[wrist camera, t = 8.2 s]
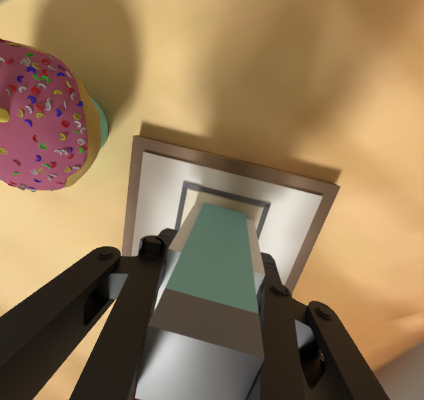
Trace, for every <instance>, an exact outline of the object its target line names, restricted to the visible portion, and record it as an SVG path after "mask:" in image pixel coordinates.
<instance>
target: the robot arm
mask: <svg viewBox="0 0 424 400" xmlns="http://www.w3.org/2000/svg"><path fill="white" fill-rule="evenodd" d="M201 208H202V207H201V206H197V205H193V207H192V209H191V210H190V212H189V214H188V216H187V217H186V219H185V221H184V222H183V224H182V226H181V227H180V229H179V231H178V230H174V229H170V228H166V229H164V230H162V231H161V232H160V233H159V235H158V236H156V235H149V236H145V237H142V238H141V239H140V243H139V250H138V255H137V256H121V253H120V251H119V250H118V249H117V248H115V247H110V246H104V247H99V248H96V249H95V250H93V251H91V252H90V253H89V254H87V255H86V256H84V257H83V258H82V259H80V260H79V261H77V262H76V263H75V264H73V265H72V266H71V267H69V268H68V269H66V270H65V271H64V272H62V273H61V274H59V275H58V276H57V277H55V278H54V279H52V280H51V281H50V282H48V283H47V284H46V285H44V286H43V287H41V288H40V289H39V290H37V291H36V292H34V293H33V294H32V295H30V296H29V297H27V298H26V299H25V300H23V301H22V302H21V303H19V304H18V305H16V306H15V307H14V308H12V309H11V310H9V311H8V312H7V313H5V314H4V315H2V316H1V317H0V400H33V398H34V397H35V396H36V395H37V394H38V392H39V391H40V390H41V389H42V388H43V386H44V385H45V384H46V383H47V382H48V380H49V379H50V378H51V377H52V376H53V374H54V373H55V372H56V371H57V370H58V368H59V367H60V366H61V365H62V363H63V362H64V361H65V360H66V359H67V357H68V356H69V355H70V354H71V353H72V351H73V350H74V349H75V348H76V347H77V345H78V344H79V343H80V342H81V341H82V339H83V338H84V337H85V336H86V334H87V333H88V332H89V331H90V330H91V328H92V327H93V326H94V325H95V324H96V322H97V321H98V320H99V319H100V318H101V316H102V315H103V314H104V313H105V312H106V310H107V309H108V308H109V307H110V306H111V304H112V303H113V302H114V301H115V299H116V302H115V304H114V306H113V308H112V310H111V312H110V314H109V316H108V318H107V321H106V323H105V325H104V327H103V329H102V331H101V333H100V335H99V337H98V340H97V342H96V344H95V346H94V348H93V350H92V352H91V354H90V356H89V359H88V361H87V363H86V365H85V367H84V369H83V371H82V373H81V375H80V378H79V380H78V382H77V384H76V386H75V388H74V390H73V392H72V394H71V397H70V399H69V400H132V399H133V395H134V391H135V387H136V383H137V379H138V375H139V370H140V366H141V361H142V356H143V350H144V344H145V339H146V333H147V328H148V324H149V322H150V320H151V318H152V315H153V313H154V309H155V305H156V301H157V296H158V291H159V289H160V287H161V289H160V292H163V291H164V289H165V287H166V285H167V283H168V280H169V278H170V276H171V274H172V272H173V269H174V267H175V265H176V263H177V261H178V258H179V256H180V254H181V252H182V250H183V248H184V245H185V243H186V241H187V239H188V237H189V234H190V232H191V230H192V228H193V226H194V223H195V221H196V219H197V217H198V215H199V212H200V210H201ZM246 220H247V227H248V235H249V243H250V251H251V258H252V266H253V274H254V281H255V289H256V297H257V304H258V312H259V320H260V327H261V335H262V343H263V351H264V358H265V359H264V361H263V363H262V365H261V367H260V369H259V371H258V373H257V376H256V378H255V380H254V382H253V384H252V386H251V388H250V390H249V393H248V395H247V397H246V399H245V400H390V399H389V398H388V396H387V394H386V393H385V391H384V389H383V388H382V386H381V385H380V383H379V381H378V380H377V378H376V377H375V375H374V374H373V372H372V370H371V369H370V367H369V366H368V364H367V362H366V361H365V359H364V358H363V356H362V354H361V353H360V351H359V350H358V348H357V346H356V345H355V343H354V342H353V340H352V338H351V337H350V335H349V334H348V332H347V330H346V329H345V327H344V326H343V324H342V322H341V321H340V319H339V318H338V316H337V315H336V313H335V312H334V311H333V310H332V309H331V308H329V307H328V306H327V305H325V304H323V303H321V302H318V301H311V302H310V303H309V305H308V306H306V305H304V304H302V303H300V302H298V301H296V300H295V299H293V298H292V295H291V292H290V291H289V289H288V288H287V287H286V286H284V285H283V284H282V282H281V279H280V276H279V272H278V269H277V266H276V263H275V260H274V258H273V257H272V256H271V255H270V254H267V253H263V252H260V248H259V243H258V238H257V233H256V229H255V224H254V220H251V219H247V218H246ZM321 353H322V354H321ZM322 355H323V356H322ZM323 357H324V358H323Z"/></svg>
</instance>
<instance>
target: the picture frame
mask: <svg viewBox="0 0 424 400" xmlns="http://www.w3.org/2000/svg"><path fill="white" fill-rule="evenodd" d="M339 189H340V186H338V185H336V184H334V183H330V182H326V181H322V180H318V179H314V178H310V177H306V176H302V175H298V174H294V173H290V172H285V171H281V170H277V169H273V168H269V167H265V166H261V165H257V164H253V163H249V162H245V161H241V160H237V159H233V158H229V157H225V156H221V155H216V154H212V153H208V152H204V151H200V150H196V149H192V148H188V147H184V146H180V145H176V144H172V143H168V142H164V141H160V140H156V139H152V138H147V137H143V136H139V135H136V136H133V144H132V154H131V164H130V175H129V185H128V195H127V206H126V216H125V227H124V237H123V247H122V256H137V255H138V250H139V243H140V239H141V238H142V237H145V236H149V235H156V236H158V235H159V233H160V232H161V231H162V230H164V229H166V228H170V229H174V230H178V231H179V229H180V227H181V226H182V224H183V222H184V221H185V219H186V217H187V216H188V214H189V212H190V210H191V209H192V207H193V205H197V206H201V207H202V206H203V204H204V203H208V204H212V205H215V206H219V207H223V208H227V209H231V210H234V211H238V212H242V213H246V218H247V219H251V220H254V224H255V229H256V233H257V238H258V243H259V248H260V252H263V253H267V254H270V255H271V256H272V257H273V258H274V260H275V263H276V266H277V269H278V272H279V276H280V279H281V282H282V284H283V285H284V286H286V287H287V288H288V289H289V291H290V292H291V295H292V292H293V290H294V288H295V286H296V284H297V281H298V279H299V277H300V275H301V273H302V270H303V268H304V266H305V264H306V262H307V259H308V257H309V255H310V253H311V251H312V248H313V246H314V244H315V242H316V240H317V237H318V235H319V233H320V231H321V228H322V226H323V224H324V222H325V220H326V217H327V215H328V213H329V211H330V209H331V206H332V204H333V202H334V200H335V198H336V195H337V193H338V191H339ZM160 289H161V287H160ZM160 289H159V291H158V296H157V301H156V305H155V309H156V307H157V304H158V302H159V300H160V298H161V296H162V294H163V292H160ZM155 309H154V311H155Z"/></svg>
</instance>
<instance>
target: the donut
mask: <svg viewBox="0 0 424 400" xmlns="http://www.w3.org/2000/svg"><path fill="white" fill-rule="evenodd" d="M107 135H108V123H107V119H106V116H105V114H104V112H103V110H102V108H101V107H100V106H99V104H98V103H97V102H96V101H95V100H94V99H92V98H91V97H90V96H89V94H88V91H87V89H86V87H85V85H84V84H83V82H82V81H81V80H80V79H79V78H77V77H76V76H75V75H74V74H73V73H72V72H71V71H70V70H69V69H68V68H67V67H66V65H64V64H63V63H62V62H61V61H60V60H59V59H57V58H56V57H54V56H52V55H50V54H48V53H46V52H44V51H42V50H39V49H36V48H33V47H30V46H26V45H23V44H19V43H14V42H11V41H7V40H2V39H0V180H2V181H4V182H5V183H7V184H8V185H10V186H13V187H17V188H20V189H21V190H25V189H29V190H31V191H33V192H36V190H50V191H53V190H58V189H62V188H64V187H69V186H71V185H73V184H74V183H75V182H76V181H77V180H78V179H80V178H81V177H82V176H83V175H84V174H85V173H86V171H87V170H88V169H89V168H90V166H91V165H92V164H93V162H94V161H95V159H96V157H97V155H98V152H99V150H100V149H101V148H102V147H103V145H104V144H105V142H106V139H107ZM34 190H35V191H34Z"/></svg>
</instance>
